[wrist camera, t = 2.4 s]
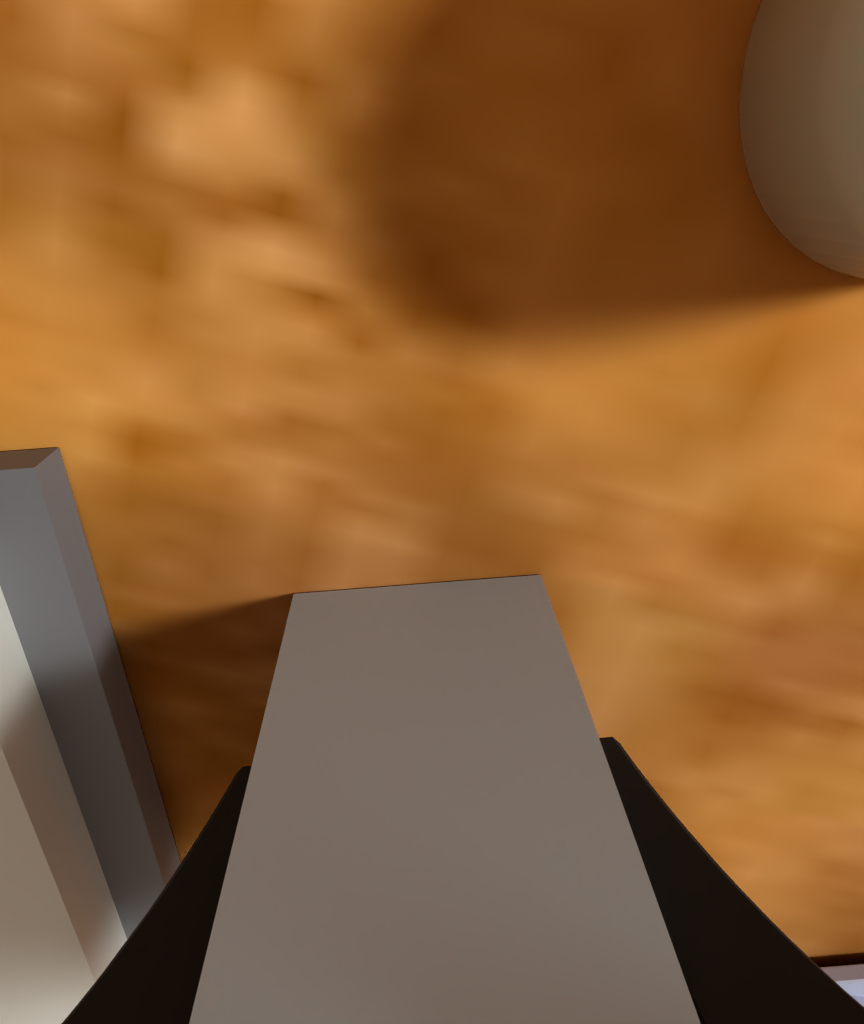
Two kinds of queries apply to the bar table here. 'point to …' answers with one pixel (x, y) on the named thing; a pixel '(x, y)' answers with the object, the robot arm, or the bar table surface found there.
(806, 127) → the grey cylinder
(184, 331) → the bar table surface
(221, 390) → the bar table surface
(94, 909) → the display podium
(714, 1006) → the robot arm
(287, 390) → the bar table surface
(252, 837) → the carton
